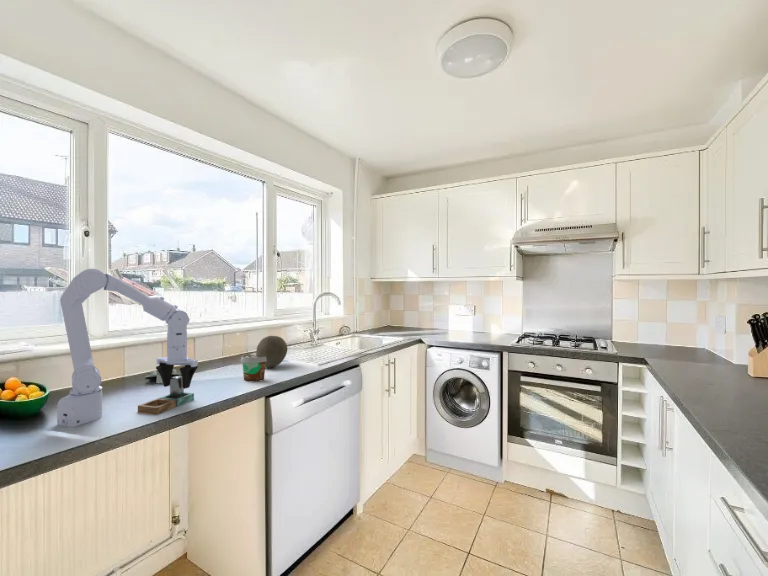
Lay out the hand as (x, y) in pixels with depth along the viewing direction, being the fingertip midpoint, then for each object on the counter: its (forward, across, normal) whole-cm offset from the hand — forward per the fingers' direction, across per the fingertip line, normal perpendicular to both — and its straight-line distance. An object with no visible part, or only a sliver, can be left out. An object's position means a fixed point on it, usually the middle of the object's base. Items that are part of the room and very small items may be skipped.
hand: (176, 386), depth 118 cm
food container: (+6, -5, -33) cm, 34 cm away
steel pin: (+5, 0, 0) cm, 5 cm away
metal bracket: (+7, +29, -24) cm, 38 cm away
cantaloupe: (+6, -1, -56) cm, 56 cm away
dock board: (+6, 0, +4) cm, 7 cm away
